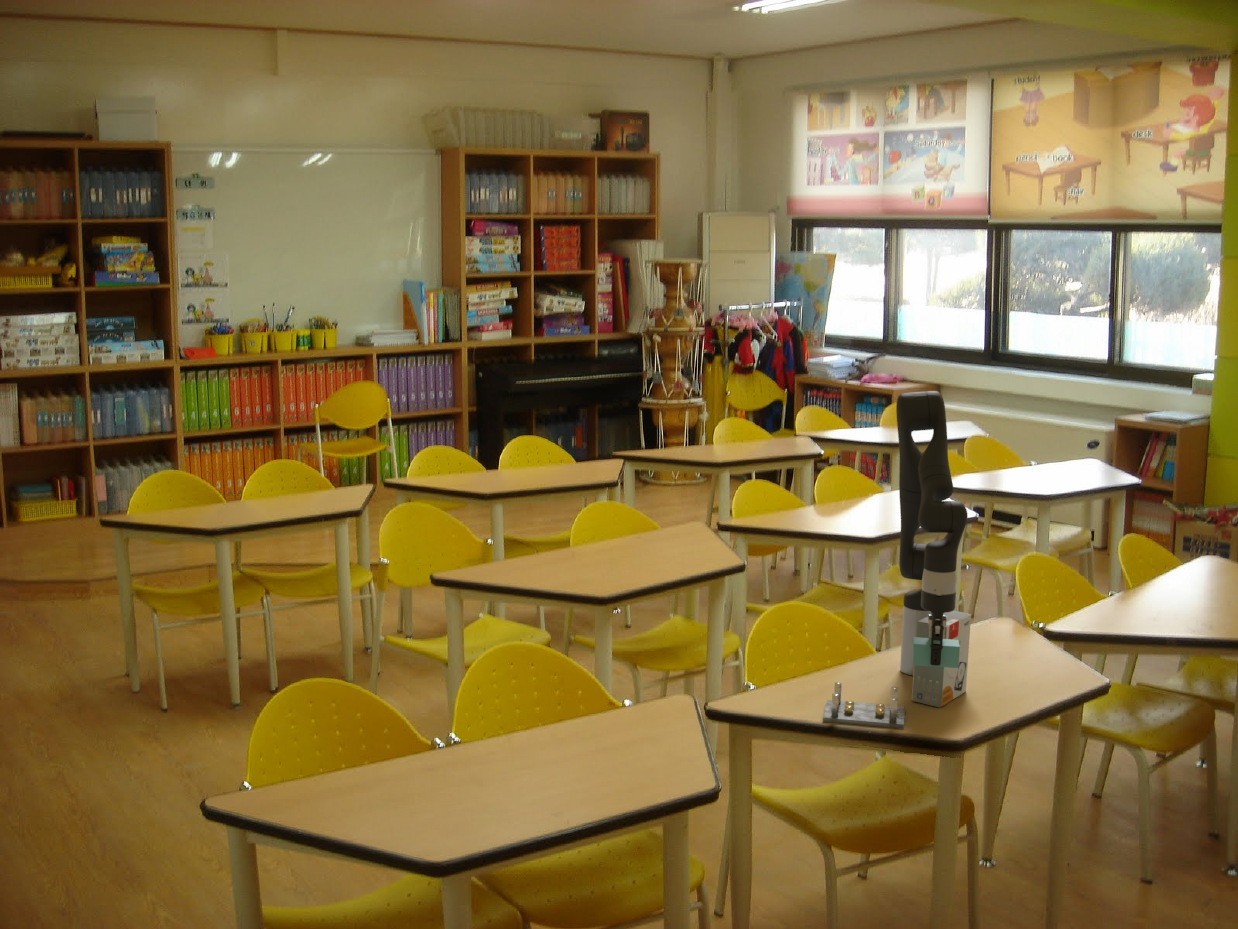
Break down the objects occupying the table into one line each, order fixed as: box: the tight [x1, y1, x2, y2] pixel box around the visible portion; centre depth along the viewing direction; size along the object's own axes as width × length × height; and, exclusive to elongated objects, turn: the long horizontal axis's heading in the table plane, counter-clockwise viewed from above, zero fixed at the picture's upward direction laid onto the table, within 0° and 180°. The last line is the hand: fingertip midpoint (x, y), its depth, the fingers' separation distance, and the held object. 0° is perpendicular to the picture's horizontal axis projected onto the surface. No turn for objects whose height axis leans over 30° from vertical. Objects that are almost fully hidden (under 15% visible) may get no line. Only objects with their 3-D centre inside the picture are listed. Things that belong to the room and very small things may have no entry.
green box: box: [912, 637, 960, 668], centre depth 295 cm, size 5×10×5 cm, turn 79°
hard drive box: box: [911, 610, 972, 708], centre depth 313 cm, size 16×8×20 cm, turn 143°
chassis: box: [822, 681, 906, 730], centre depth 301 cm, size 12×18×6 cm, turn 77°
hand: (935, 660), depth 296 cm, fingers closed on green box, 5 cm apart
